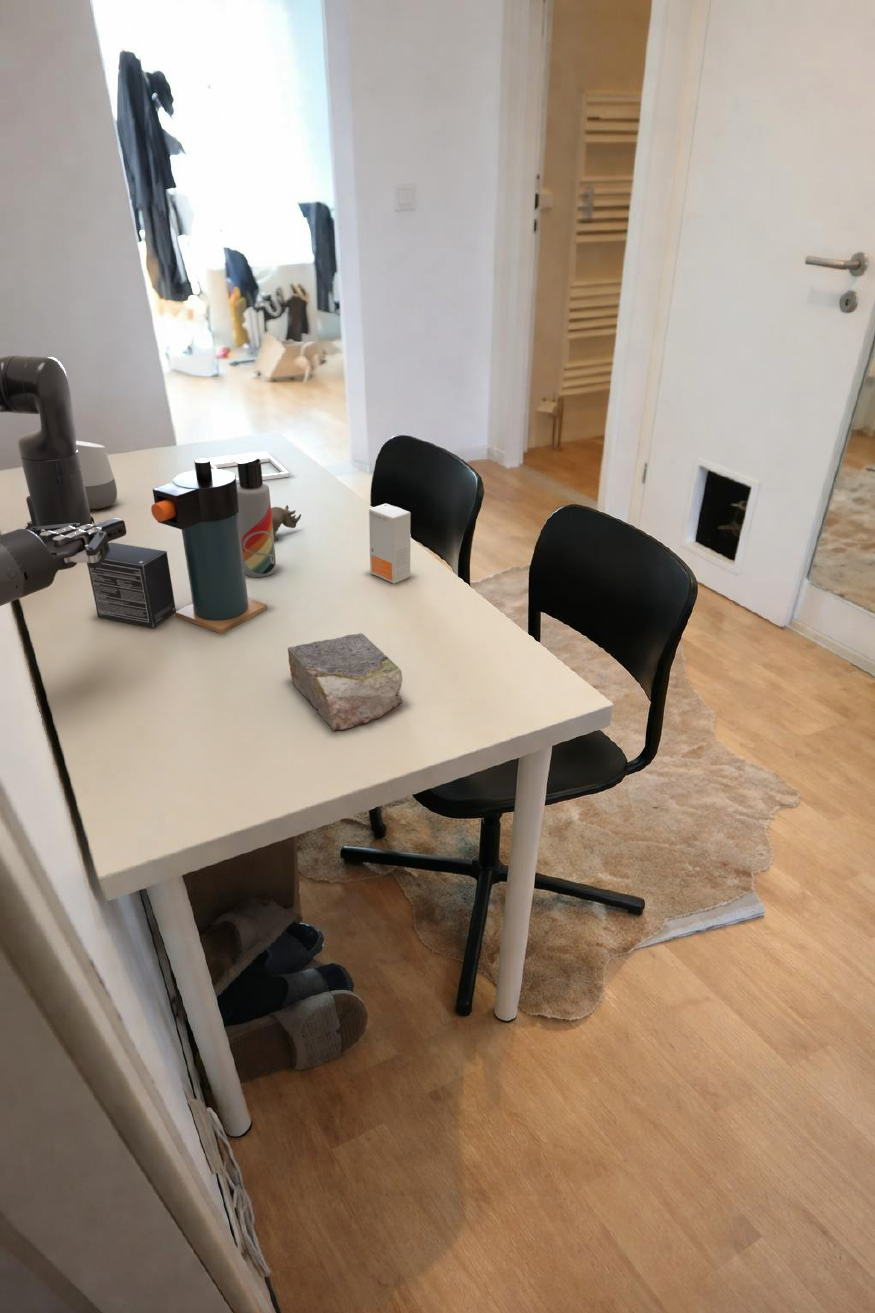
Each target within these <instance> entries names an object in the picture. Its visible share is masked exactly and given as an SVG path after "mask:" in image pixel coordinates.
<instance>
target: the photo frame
mask: <svg viewBox="0 0 875 1313" xmlns="http://www.w3.org/2000/svg"><path fill="white" fill-rule="evenodd" d="M246 457H258V458H259V459H260V461H261V464H262V463H269V462H270V463H271V464H272V465H273V466H274V467H275V468H276V469H277V470H278V471H279V472H275V473H267V474H262V480H263V481H266V480H274V479H281V478H288V477H290V472H289V471H288V470H287V469H286V468H285V467H283V465H281V463H280V462H278V460H276V459H275V458H274V457H273V456H272V455H271V454H269V452H268V451H257V452H247V453H241V454H232V455H223V456H215V457H207V458H206V459H210V463H211V469H220V468H229V467H236V466H237V462H238V461H239V460H241V459H243V458H246ZM236 483H237V484H239V477H236Z"/></svg>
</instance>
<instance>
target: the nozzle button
mask: <svg viewBox="0 0 875 1313" xmlns="http://www.w3.org/2000/svg"><path fill="white" fill-rule="evenodd" d="M150 509H151V511H150V512H151V515H152V517H153V518H154V519H155V521H156V522H158V521H159V522H163V521H165V520H168V519H171V518H173V517H176V512H175V506H174V500H170V499H166V500H163V501H161V502H158V503H155V502H154V503H153V504H152V505H151V507H150Z"/></svg>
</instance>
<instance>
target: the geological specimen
mask: <svg viewBox="0 0 875 1313" xmlns="http://www.w3.org/2000/svg"><path fill="white" fill-rule="evenodd" d="M287 654H288V665H289V671H290V678H291V682H292V684H293V686H294V687H295V688H297V690H298V691H299V692H300V694H301V695H302V696H303V697H304V698H305V699H306V700H307V701H309V702H310V704H311V706H313V708H314V709H315V710H317V711H318V714H319V715H320V716H321V717H322V718H323V720H324V721H325V722H326V724H327V725H329V727H330V729H332V731H337V730H339V731H340V730H341V731H343V730H348V729H350V728H351V729H352V728H353V727H355V726H357V725H359V724H368V723H369V722H370V721H371V720H375V719H378V718H381V717H382V716H383V715H384V714H386V713H388V712H389V711H391V710H393V708H394V709H395V708H396V707H398V705H402V704H403V699H402V696H401V695H400V690H402V684H403V674H402V670H401V668H400V667H399V666H398V665H396V663H395V662H393V660H391V659H390V657H388V656H387V655H386V654H384V652H383V651H382V650H381V649H380V648H379V647H378V646H376V645H375V643H374V642H373V641H371V640H370V639H369V638H368V637H367V636H366V635H365V634H363V633H362V632H361V633H354V634H347V635H343V636H341V637H335V638H330V639H325V640H317V641H313V642H309V643H304V644H299V645H294V646H288V647H287Z"/></svg>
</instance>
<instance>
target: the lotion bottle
mask: <svg viewBox="0 0 875 1313" xmlns="http://www.w3.org/2000/svg"><path fill="white" fill-rule="evenodd" d="M262 475H263V470H262V463H261V461H260V459H259V458H258V457H246V458H243V459H241V460H239V461H238V462H237V476H238V478H239V483H238V484H237V492H238V502H239V512H238V514H239V523H240V532H241V541H242V550H243V559H244V568H245V576H248V577H251V578H265V577H268V576H271V575H273V574H274V573H275V572H276V570H277V561H276V559H277V558H276V548H275V541H274V536H273V525H272V514H271V508H272V504H271V495H270V494H271V493H270V487H269V485H268V484H266V483H264V482H263V481H264V480H262Z"/></svg>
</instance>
